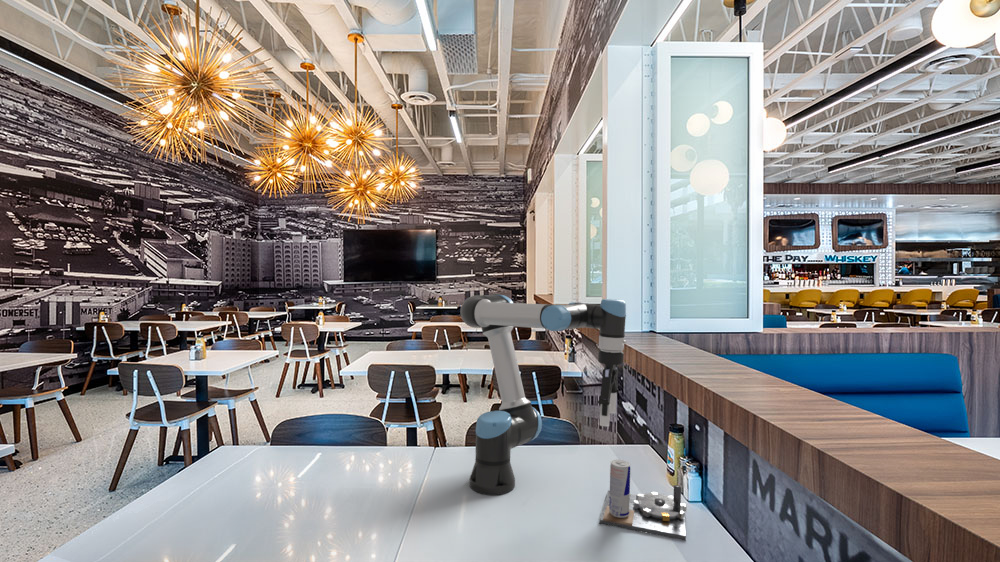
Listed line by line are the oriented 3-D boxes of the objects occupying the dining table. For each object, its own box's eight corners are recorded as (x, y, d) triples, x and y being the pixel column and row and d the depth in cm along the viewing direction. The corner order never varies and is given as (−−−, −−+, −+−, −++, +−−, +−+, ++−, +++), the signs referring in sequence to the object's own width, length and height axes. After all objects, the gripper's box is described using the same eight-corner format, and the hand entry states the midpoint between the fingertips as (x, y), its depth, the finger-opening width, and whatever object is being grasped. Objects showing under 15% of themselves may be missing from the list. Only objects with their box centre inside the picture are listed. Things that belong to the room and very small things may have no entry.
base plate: (599, 523, 139) (599, 519, 139) (607, 493, 158) (608, 490, 158) (685, 540, 131) (685, 536, 131) (683, 506, 150) (683, 503, 150)
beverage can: (629, 520, 137) (631, 467, 137) (609, 517, 138) (610, 465, 138) (628, 510, 143) (629, 459, 143) (608, 508, 144) (610, 458, 144)
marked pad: (603, 520, 138) (603, 517, 138) (606, 507, 146) (606, 505, 146) (632, 525, 136) (632, 523, 136) (634, 512, 143) (634, 510, 143)
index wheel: (668, 526, 135) (669, 496, 135) (623, 506, 147) (624, 478, 146) (696, 510, 145) (697, 482, 145) (651, 492, 156) (652, 465, 156)
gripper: (618, 358, 135) (614, 434, 136) (628, 345, 158) (625, 410, 159) (591, 355, 138) (587, 429, 138) (605, 343, 161) (602, 406, 162)
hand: (607, 419), depth 149 cm, fingers open, 13 cm apart
